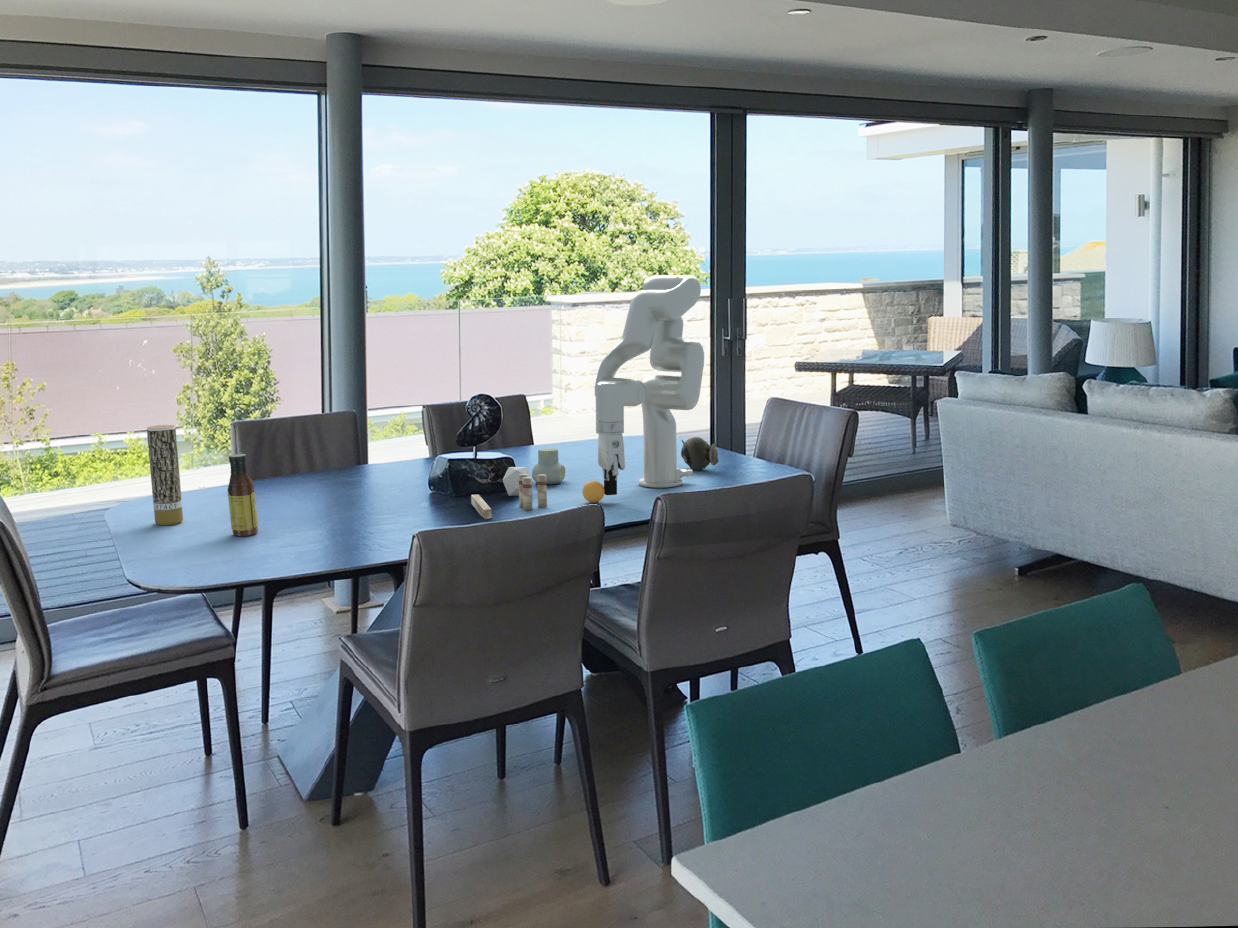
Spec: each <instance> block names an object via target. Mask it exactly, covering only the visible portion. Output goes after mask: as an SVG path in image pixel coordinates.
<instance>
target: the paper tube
mask: <svg viewBox="0 0 1238 928" xmlns="http://www.w3.org/2000/svg"><path fill="white" fill-rule="evenodd" d="M146 434H147V435H146V437H147V449H148V456H149V457H148V458H149V469H150V480H151V481H150V482H151V490H152V491H151V492H152V493H151V494H152V502H153V503H152V504H153V512H154V514H153V515H154V523H155V524H156V525H158V526H172V525H173V526H174V525H178V524H181V523H182V522H183V521H184V516H183V515H184V514H183V502H182V489H181V477H180V468H179V467H180V466H179V455H178V452H179V451H178V443H177V431H176V425H173V424H162V425H161V424H160V425H159V424H157V425H151V426H148V427H146Z"/></svg>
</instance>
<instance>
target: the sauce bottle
mask: <svg viewBox="0 0 1238 928" xmlns="http://www.w3.org/2000/svg"><path fill="white" fill-rule="evenodd" d="M228 462H229V465H230V476H229V483H228V486H227V496H228V497H227V498H228V508H229V518H230V526H231V530H232V535H234V536H237V537H248V536H253V535H257V534H258V532H259V528H258V527H259V521H258V511H257V504H256V503H257V502H256V495H255V494H256V492H255V487H254V480H253V479H252V476H251V475H249V473H248V468H247V455H246V453H235V454H234V453H233V454H230V455H229V456H228Z"/></svg>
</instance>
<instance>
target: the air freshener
mask: <svg viewBox="0 0 1238 928" xmlns="http://www.w3.org/2000/svg"><path fill="white" fill-rule="evenodd" d="M537 453H538V454H537V456H538V457H537V459H538V461H537V462H538V463H537V464H534V465H533V467H532V469H531V470H532V472H531V478H532V481H533V482H536V483H537V475H540V474H544V475H546V483H547V484H546V485H557V484H561V482H563V480H564V479H565V476H566V467H565V465H564V464H562V463H560V462H559V449H557V448H553V447H544V448H543V447H542V448H539V449H538V450H537Z"/></svg>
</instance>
